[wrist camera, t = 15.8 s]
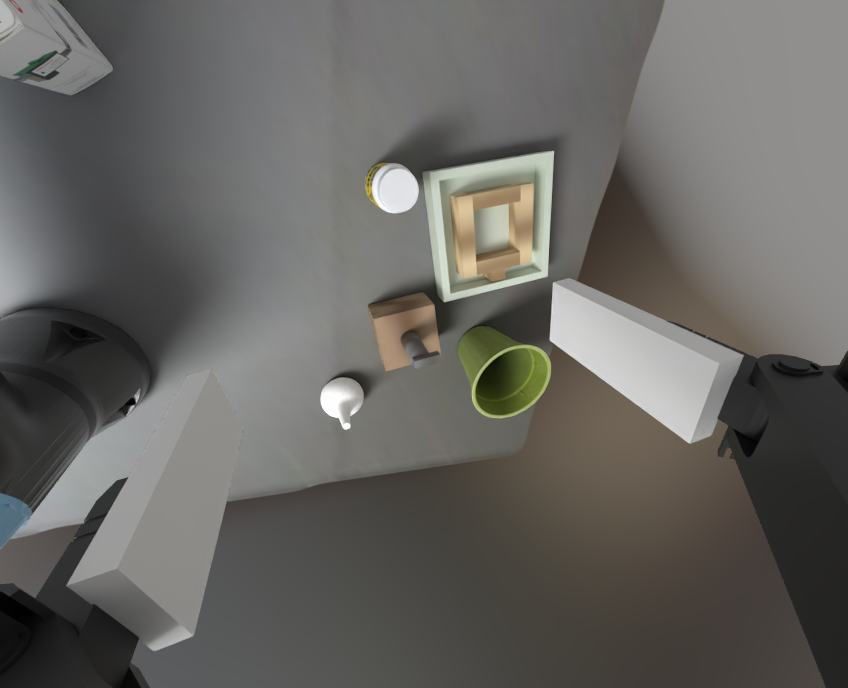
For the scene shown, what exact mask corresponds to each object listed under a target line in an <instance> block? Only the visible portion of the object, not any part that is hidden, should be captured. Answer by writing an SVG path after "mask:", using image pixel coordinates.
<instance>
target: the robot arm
mask: <svg viewBox="0 0 848 688" xmlns="http://www.w3.org/2000/svg"><path fill="white" fill-rule="evenodd" d="M550 341H551V342H553V343H554V344H555V345H557V346H558V347H559V348H561V349H562V350H564V351H565V352H566V353H568V354H569V355H570V356H572V357H573V358H575V359H576V360H577V361H578V362H580V363H581V364H582V365H584V366H585V367H587V368H588V369H589V370H591V371H592V372H593V373H595V374H596V375H597V376H599V377H600V378H601V379H603V380H604V381H605V382H607V383H608V384H610V385H611V386H612V387H614V388H615V389H616V390H618V391H619V392H620V393H622V394H623V395H625V396H626V397H627V398H629V399H630V400H631V401H633V402H634V403H635V404H637V405H638V406H640V407H641V408H642V409H644V410H645V411H646V412H648V413H649V414H650V415H652V416H653V417H654V418H656V419H657V420H658V421H660V422H661V423H662V424H664V425H665V426H666V427H668V428H669V429H671V430H672V431H673V432H675V433H676V434H677V435H679V436H680V437H682V438H683V439H684V440H686V441H687V442H688V443H693V442H695V441H698V440H701V439H703V438H706V437H709V436H711V435H712V432H713V430H714V427H715V425H716V422H717V420H718V419H719V420H721V421H722V422H724V423H726V424H727V425H729V426H728V428H727V431H726V433H725V435H724V438H723V440H722V442H721V445H720V447H719V449H718V456H719V457H723V456H724V453H725V451H726V449H728V448H731V450H732V454H731V456H730V458H731V459H735V460H736V463H737V466H738V468H739V470H740V473H741V476H742V478H743V480H744V483H745V486H746V488H747V491H748V493H749V496H750V498H751V500H752V503H753V505H754V508H755V511H756V513H757V516H758V518H759V521H760V523H761V525H762V528H763V530H764V533H765V536H766V538H767V541H768V543H769V545H770V548H771V551H772V553H773V556H774V558H775V561H776V563H777V566H778V568H779V571H780V573H781V576H782V579H783V581H784V584H785V586H786V588H787V591H788V593H789V596H790V599H791V601H792V604H793V606H794V609H795V611H796V614H797V616H798V618H799V621H800V624H801V626H802V629H803V631H804V633H805V636H806V639H807V641H808V644H809V646H810V649H811V651H812V654H813V656H814V659H815V661H816V664H817V666H818V669H819V671H820V674H821V676H822V679H823V681H824V684H825V686H826V688H848V351H847V353H846V354H845V356H844V358H843V359H842V361H841V363H840V365H834V366H820V365H818V364H816V363H813V362H811V361H809V360H805V359H802V358H799V357H795V356H788V355H781V354H773V355H771V354H770V355H765V356H762V357H760V358H759V359H757V358H755V357H753V356H751V355H748V354H746V353H744V352H742V351H739V350H737V349H735V348H732V347H730V346H728V345H725V344H723V343H721V342H719V341H716V340H714V339H711V338H709V337H708V338H706V336H705V335H702V334H700V333H698V332H693V330H691V329H689V328H686V327H684V326H682V325H679V324H677V323H674V322H670V321H665V320H663V319H661V318H658V317H656V316H654V315H652V314H649V313H647V312H645V311H642V310H640V309H638V308H636V307H633V306H631V305H629V304H627V303H624V302H622V301H620V300H617V299H615V298H613V297H611V296H609V295H606V294H604V293H602V292H599V291H597V290H595V289H593V288H591V287H588V286H586V285H584V284H581V283H579V282H577V281H575V280H572V279H570V278H568V279H564V280H560V281H556V282H553V294H552V310H551V326H550ZM150 380H151V373H150V367H149V363H148V361H147V359H146V357H145V355H144V353H143V352H142V350H141V349H140V347H139V346H138V345H137V344H136V343H135V342H134V341H133V340H132V339H131V338H130V337H129V336H128V335H126V334H125V333H124V332H122V331H121V330H120V329H118V328H116V327H115V326H113V325H111V324H110V323H108V322H106V321H103V320H101V319H99V318H96V317H94V316H91V315H88V314H85V313H81V312H77V311H72V310H66V309H58V308H36V309H28V310H23V311H18V312H15V313H12V314H9V315H7V316H5V317H3V318H1V319H0V549H1V548H2V547H3V546H4V545H5V543H6V542H7V541H8V540H9V539H10V538H11V537H12V536H13V535H14V533H15V532H16V531H17V530H19V529H20V528H22V527H23V526H24V525H25V524H26V523H27V521H28V520H29V519H30V517H31V515H32V514H33V513H34V511H35V510H36V509H37V507H38V506H39V505H40V503H41V502H42V501H43V500H44V498H45V497H46V496H47V494H48V493H49V492H50V490H51V489H52V488H53V486H54V485H55V484H56V482H57V481H58V480H59V478H60V477H61V476H62V475H63V473H64V472H65V471H66V469H67V468H68V467H69V465H70V464H71V463H72V461H73V460H74V459H75V457H76V456H77V455H78V454H79V452H80V451H81V450H82V448H83V447H84V445H85V444H86V443H87V442H88V441H89V439H90V438H92V437H93V436H95V435H97V434H98V433H100V432H102V431H104V430H105V429H107V428H109V427H110V426H112V425H114V424H115V423H117V422H119V421H120V420H122V419H124V418H125V417H126V416H128V415H129V414H130V413H131V412H132V411H133V410H134V409H135V408H136V407H137V406H138V404H139V403H140V401H141V400H142V399H143V397H144V396H145V394H146V392H147V391H148V388H149V385H150ZM243 432H244V427H243V426H242V424H241V422H240V420H239V418H238V416H237V415H236V413H235V411H234V409H233V407H232V406H231V404H230V402H229V400H228V398H227V396H226V395H225V393H224V391H223V389H222V387H221V386H220V384H219V382H218V380H217V378H216V376H215V375H214V373H213V371H212V369H211V370H207V371H203V372H199V373H195V374H191V375H187V376H186V378H185V380H184V382H183V383H182V385H181V387H180V389H179V390H178V392H177V394H176V396H175V397H174V399H173V401H172V403H171V404H170V406H169V408H168V409H167V411H166V413H165V415H164V416H163V418H162V420H161V422H160V423H159V425H158V427H157V429H156V430H155V432H154V434H153V436H152V437H151V439H150V441H149V443H148V444H147V446H146V448H145V449H144V451H143V453H142V455H141V456H140V458H139V460H138V462H137V463H136V465H135V467H134V469H133V470H132V472H131V474H130V476H129V477H127V478H124V479H120V480H117V481H116V482H115V483H114V484H113V485H112V486H111V487H110V488H109V489H108V490H107V491H106V492H105V493H104V494H103V495H102V496H101V497H100V498H99V499H98V500H97V501H96V503H95V504H94V506H93V507H92V509H91V511H90V512H89V514H88V515H87V517H86V518H85V520H84V522H85V523H84V524H83V525H81V526H80V528H79V530H78V531H77V533H76V534H75V536H74V538H73V539H74V541H73V542H71V543H70V544H69V546H68V547H67V549H66V551H65V552H64V554H63V555H62V557H61V558H60V560H59V562H58V563H57V565H56V566H55V568H54V569H53V571H52V573H51V574H50V576H49V577H48V579H47V580H46V582H45V584H44V585H43V587H42V589H41V590H40V592H39V593H38V595H37V597H36V598H34V597H32V596H31V595H29V594H28V593H26V592H25V591H23V590H22V589H20V588H19V587H17V586H16V585H14V584H12V583H11V584H1V585H0V688H150V687H149V685H148V684H147V682H146V680H145V678H144V677H143V675H142V673H141V671H140V670H139V668H138V667H136V666H135V665H133V664H132V663H131V659H132V656H133V653H134V651H135V648H136V645H137V642H138V640H140V641H141V642H142V643H144V644H145V645H146V646H148V647H149V648H151V649H152V650H153V651H156V650H159V649H161V648H164V647H166V646H169V645H171V644H174V643H177V642H179V641H182V640H184V639H187V638H190V637H192V636H194V632H195V628H196V624H197V620H198V616H199V612H200V608H201V603H202V599H203V596H204V591H205V587H206V583H207V579H208V575H209V570H210V567H211V563H212V559H213V554H214V550H215V546H216V542H217V538H218V534H219V530H220V526H221V522H222V518H223V513H224V509H225V506H226V501H227V497H228V493H229V489H230V485H231V481H232V477H233V473H234V469H235V465H236V461H237V456H238V452H239V448H240V444H241V440H242V436H243Z"/></svg>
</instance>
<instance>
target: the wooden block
mask: <svg viewBox="0 0 848 688" xmlns="http://www.w3.org/2000/svg"><path fill="white" fill-rule="evenodd" d="M368 308H369V312H370V316H371V320H372V325H373V329H374V333H375V337H376V341H377V346H378V350H379V354H380V357H381V359H382V362H383V365H384V368H385V370H386V371H390V370H393V369H397V368H400V367H404V366H407V365H411V364H413V365H414V367H415V369H416V368H420V367H423V366H427V365H430V364H434V363H437V362H441V353H440V345H439V337H438V330H437V322H436V314H435V307H434V303H433V302H432V301H431V300H430V299H429V298H428V297H427V296H426V294H425V293H424V292H420V293H416V294H412V295H408V296H404V297H400V298H395V299H391V300H387V301H383V302H379V303H375V304H371V305H368Z"/></svg>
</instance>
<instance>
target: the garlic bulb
mask: <svg viewBox="0 0 848 688" xmlns="http://www.w3.org/2000/svg"><path fill="white" fill-rule="evenodd" d="M363 399H364V393H363V390H362V387H361V386H360V385H359V383H357V382H356V381H355V380H353V379H350V378H345V377H342V378H336V379H334V380H332V381H330V382H329V383H328V384H326V386H325V387H324V388H323V390H322V393H321V405H322V407H323V409H324V411H325V412H326V413H327V414H329V415H330V416H333V417H336V418H339V419H340V422H341V424H342V427H343V428H344V429H349V428H350V426H351V424H350V416H351V415H353V414H354V413H356V412H357V411H358V410H359V409H360V407H361V405H362V403H363Z"/></svg>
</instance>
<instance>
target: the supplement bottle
mask: <svg viewBox="0 0 848 688" xmlns="http://www.w3.org/2000/svg"><path fill="white" fill-rule="evenodd" d="M365 190H366V193H367V196H368V197H369V199H370V200H371V201H372V202H373V203H374V204H376V205H377V206H378V207H380V208H381V209H383V210H384V211H386V212H389V213H400V212H404V211H407V210H409V209H410V208H411V207H412V206H413V205H414V204H415V203H416V201H417V198H418V193H419V188H418V183H417V180H416V179H415V177H414V176H413V174H412V173H411V172H410V171H409V170H408V169H407V168H406V167H404V166H403V165H400V164H396V163H378V164H376V165H374V166H373V167H372V168H371V169H370V170H369V171H368V173H367V175H366V177H365Z"/></svg>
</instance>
